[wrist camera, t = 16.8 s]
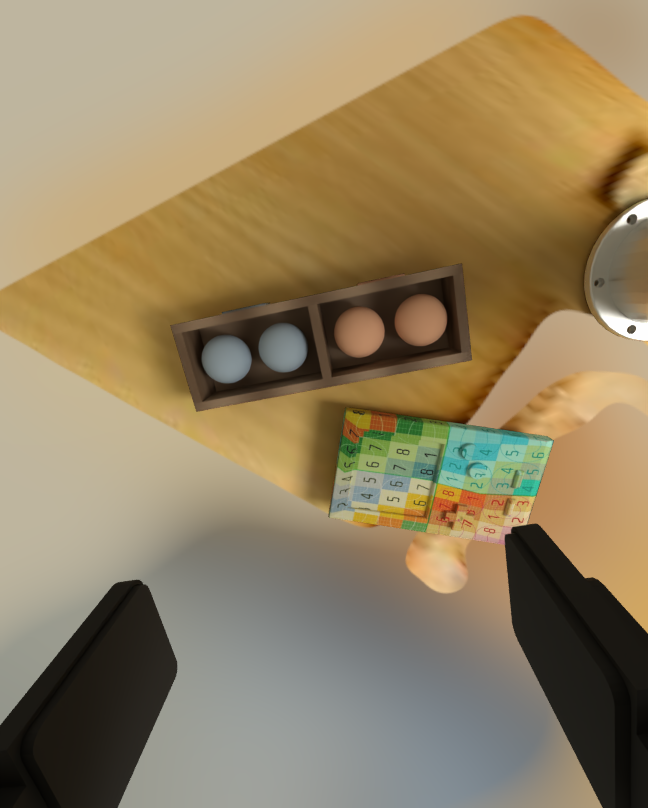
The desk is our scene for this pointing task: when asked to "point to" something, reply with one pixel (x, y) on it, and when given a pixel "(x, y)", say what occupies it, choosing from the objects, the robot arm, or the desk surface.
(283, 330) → the slate ball
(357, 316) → the terracotta ball
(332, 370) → the divided wooden box
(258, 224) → the desk surface
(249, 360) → the blue-grey ball
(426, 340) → the tan rounded piece
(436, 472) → the puzzle game
